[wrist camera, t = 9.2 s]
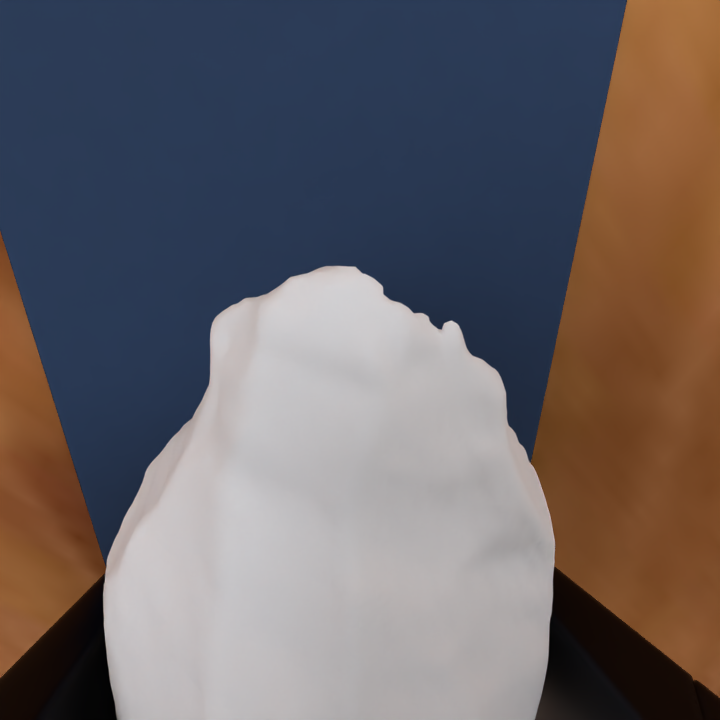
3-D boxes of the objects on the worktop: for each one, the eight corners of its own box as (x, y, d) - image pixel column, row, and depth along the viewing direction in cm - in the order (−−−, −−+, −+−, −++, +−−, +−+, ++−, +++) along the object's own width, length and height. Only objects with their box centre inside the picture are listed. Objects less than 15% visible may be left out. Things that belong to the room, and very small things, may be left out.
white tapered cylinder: (520, 234, 8) (985, 400, 2) (413, 682, 12) (496, 1049, 7) (137, 199, 7) (-395, 356, 1) (183, 700, 11) (94, 1137, 6)
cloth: (476, 697, 14) (480, 707, 14) (166, 740, 13) (163, 752, 13) (617, -8, 7) (630, -13, 7) (-74, -48, 6) (-93, -59, 5)
